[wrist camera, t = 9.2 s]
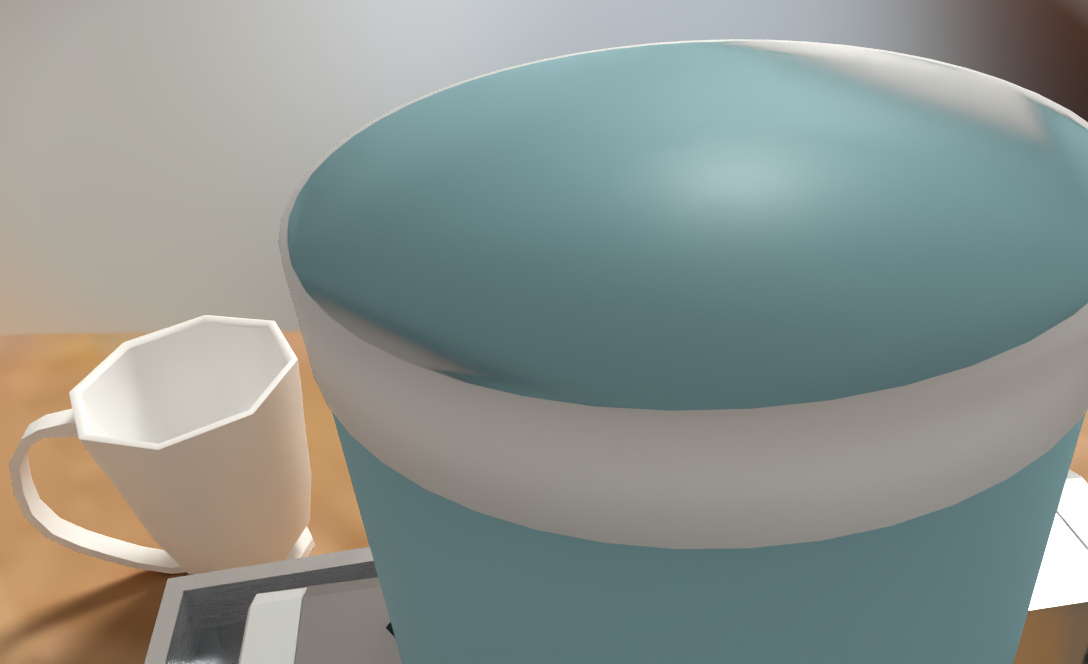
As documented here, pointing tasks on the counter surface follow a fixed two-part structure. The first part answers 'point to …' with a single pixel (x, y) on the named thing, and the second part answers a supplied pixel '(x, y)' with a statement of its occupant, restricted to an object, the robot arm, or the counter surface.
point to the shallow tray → (236, 603)
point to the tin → (704, 354)
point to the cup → (190, 448)
